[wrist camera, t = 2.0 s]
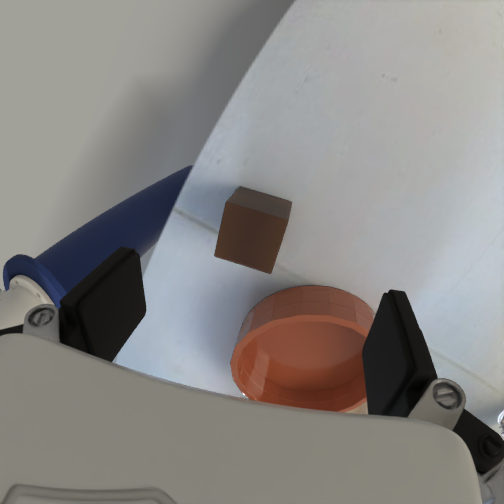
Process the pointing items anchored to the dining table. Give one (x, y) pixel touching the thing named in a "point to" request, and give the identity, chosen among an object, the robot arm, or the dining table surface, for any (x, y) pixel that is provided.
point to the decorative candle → (501, 422)
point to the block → (252, 229)
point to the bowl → (304, 349)
